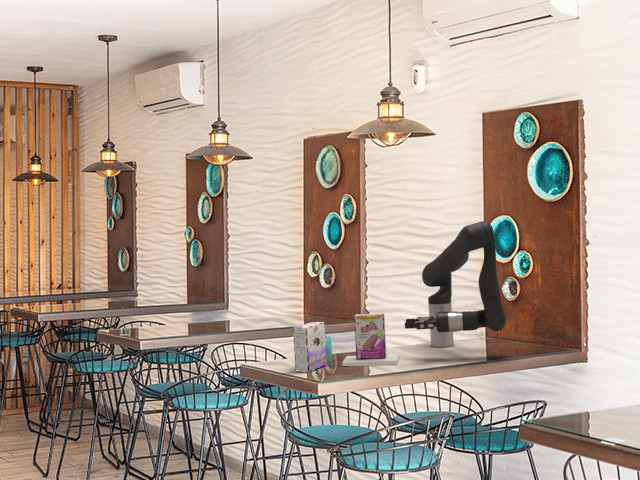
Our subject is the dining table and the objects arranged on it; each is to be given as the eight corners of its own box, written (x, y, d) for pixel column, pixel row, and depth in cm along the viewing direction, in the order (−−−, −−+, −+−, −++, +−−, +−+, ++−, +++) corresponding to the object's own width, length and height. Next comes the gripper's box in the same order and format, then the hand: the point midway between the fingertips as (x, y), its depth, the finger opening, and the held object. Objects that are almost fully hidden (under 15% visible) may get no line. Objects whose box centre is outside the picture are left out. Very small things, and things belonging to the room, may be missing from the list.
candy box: (314, 365, 308) (311, 321, 308) (328, 365, 305) (325, 321, 305) (295, 372, 296) (292, 326, 296) (308, 373, 293) (305, 327, 293)
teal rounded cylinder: (315, 360, 319) (313, 337, 319) (333, 359, 318) (331, 336, 318) (313, 363, 312) (311, 339, 312) (331, 362, 312) (330, 338, 311)
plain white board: (347, 359, 315) (346, 356, 315) (399, 357, 312) (399, 354, 312) (342, 366, 301) (342, 362, 301) (397, 364, 298) (396, 360, 298)
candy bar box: (356, 360, 304) (353, 315, 304) (357, 357, 309) (354, 314, 309) (386, 358, 303) (383, 314, 303) (387, 356, 308) (384, 312, 308)
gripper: (450, 335, 294) (404, 337, 297) (450, 328, 309) (406, 330, 311) (449, 314, 294) (403, 316, 297) (448, 308, 308) (405, 310, 311)
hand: (405, 323), depth 304 cm, fingers open, 8 cm apart
